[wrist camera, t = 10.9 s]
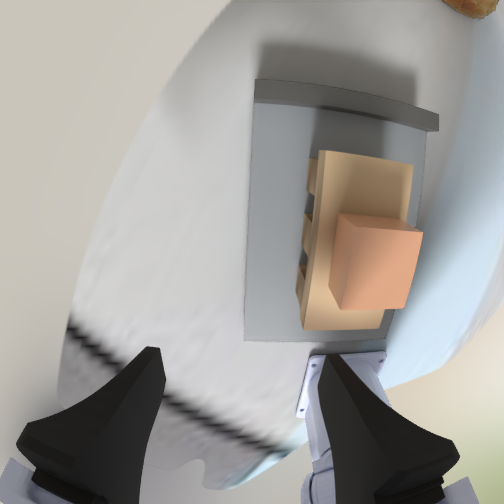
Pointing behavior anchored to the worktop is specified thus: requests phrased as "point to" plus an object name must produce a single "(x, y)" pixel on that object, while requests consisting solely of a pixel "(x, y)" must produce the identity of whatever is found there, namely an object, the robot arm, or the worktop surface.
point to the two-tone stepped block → (325, 224)
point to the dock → (302, 201)
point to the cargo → (373, 262)
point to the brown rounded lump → (473, 7)
